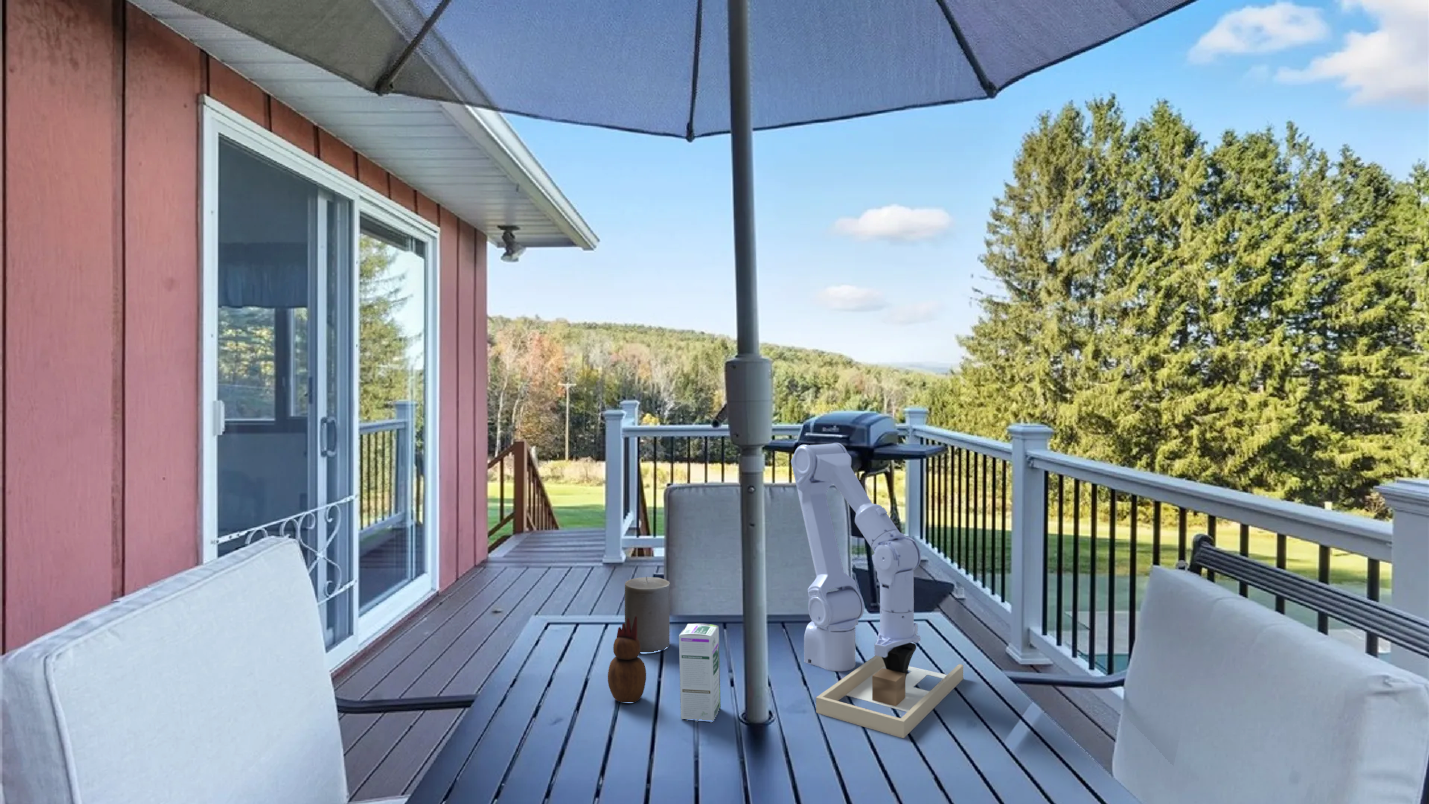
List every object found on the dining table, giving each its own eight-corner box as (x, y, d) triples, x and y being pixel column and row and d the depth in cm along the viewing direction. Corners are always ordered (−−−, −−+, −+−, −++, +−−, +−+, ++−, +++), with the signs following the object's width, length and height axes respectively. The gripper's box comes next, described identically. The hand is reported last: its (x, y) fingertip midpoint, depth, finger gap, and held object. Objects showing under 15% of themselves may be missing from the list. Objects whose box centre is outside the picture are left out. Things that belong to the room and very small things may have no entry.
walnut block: (872, 700, 124) (872, 675, 124) (882, 691, 127) (882, 668, 127) (895, 706, 121) (895, 681, 121) (905, 697, 125) (905, 673, 125)
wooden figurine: (652, 700, 128) (651, 615, 128) (627, 710, 124) (626, 623, 124) (627, 689, 133) (626, 607, 132) (602, 699, 128) (601, 615, 128)
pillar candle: (616, 652, 152) (616, 580, 151) (635, 636, 161) (635, 569, 161) (660, 657, 149) (660, 584, 148) (676, 641, 158) (676, 572, 158)
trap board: (816, 721, 119) (816, 697, 119) (885, 668, 142) (885, 648, 142) (903, 747, 110) (903, 721, 110) (963, 686, 133) (963, 665, 133)
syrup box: (714, 723, 119) (713, 635, 119) (679, 720, 120) (678, 633, 120) (720, 708, 124) (720, 624, 124) (687, 705, 126) (686, 622, 125)
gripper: (902, 623, 119) (903, 705, 119) (933, 602, 130) (934, 677, 130) (862, 615, 123) (863, 695, 123) (896, 595, 134) (896, 668, 135)
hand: (897, 685), depth 127 cm, fingers closed
